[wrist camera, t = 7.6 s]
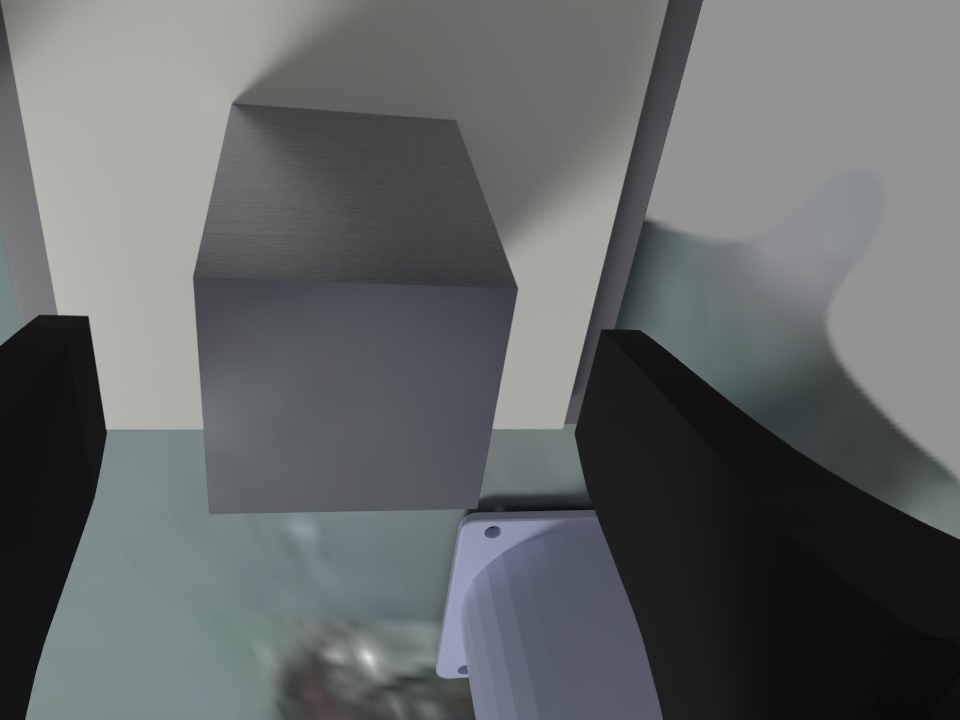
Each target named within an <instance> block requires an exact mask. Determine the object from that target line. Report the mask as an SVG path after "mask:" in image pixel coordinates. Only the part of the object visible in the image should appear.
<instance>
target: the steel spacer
mask: <svg viewBox="0 0 960 720" xmlns="http://www.w3.org/2000/svg"><path fill="white" fill-rule="evenodd" d="M193 286H194V300H195V315H196V329H197V344H198V358H199V373H200V387H201V402H202V416H203V431H204V445H205V459H206V474H207V488H208V503H209V514H235V513H287V512H339V511H391V510H443V509H477V507H478V502H479V497H480V491H481V486H482V481H483V475H484V470H485V465H486V459H487V454H488V448H489V443H490V438H491V432H492V427H493V422H494V416H495V411H496V406H497V400H498V395H499V390H500V384H501V379H502V374H503V368H504V363H505V358H506V352H507V347H508V341H509V336H510V331H511V325H512V320H513V315H514V309H515V304H516V299H517V293H518V287H517V284H516V281H515V278H514V276H513V273H512V270H511V268H510V265H509V262H508V259H507V257H506V254H505V251H504V249H503V246H502V243H501V241H500V238H499V235H498V232H497V230H496V227H495V224H494V222H493V219H492V216H491V214H490V211H489V208H488V205H487V203H486V200H485V197H484V195H483V192H482V189H481V186H480V184H479V181H478V178H477V176H476V173H475V170H474V168H473V165H472V162H471V159H470V157H469V154H468V151H467V149H466V146H465V143H464V141H463V138H462V135H461V132H460V130H459V127H458V124H457V122H456V120H445V119H432V118H419V117H406V116H393V115H380V114H367V113H354V112H341V111H328V110H315V109H302V108H289V107H276V106H263V105H250V104H237V103H232V104H231V108H230V113H229V117H228V122H227V126H226V131H225V135H224V140H223V144H222V149H221V153H220V158H219V162H218V167H217V171H216V176H215V180H214V185H213V189H212V194H211V198H210V203H209V207H208V212H207V216H206V221H205V225H204V230H203V234H202V239H201V243H200V248H199V252H198V257H197V261H196V266H195V270H194V275H193Z"/></svg>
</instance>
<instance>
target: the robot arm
mask: <svg viewBox="0 0 960 720" xmlns="http://www.w3.org/2000/svg"><path fill="white" fill-rule="evenodd" d="M106 435H107V431H106V425H105V418H104V412H103V405H102V399H101V393H100V386H99V380H98V373H97V367H96V361H95V354H94V348H93V341H92V335H91V329H90V322H89V316H75V315H38V316H37V317H35V318H34V319H33V320H31V321H30V322H29V323H28V324H26V325H25V326H24V327H23V328H21V329H20V330H19V331H18V332H17V333H15V334H14V335H13V336H12V337H11V338H9V339H8V340H7V341H6V342H5V343H3V344H2V345H1V346H0V720H25V718H26V713H27V709H28V705H29V700H30V696H31V691H32V687H33V683H34V678H35V674H36V670H37V667H38V663H39V660H40V656H41V653H42V650H43V646H44V643H45V640H46V637H47V634H48V631H49V628H50V625H51V622H52V619H53V617H54V614H55V611H56V608H57V605H58V602H59V599H60V597H61V594H62V591H63V588H64V585H65V582H66V579H67V577H68V574H69V571H70V568H71V565H72V562H73V559H74V556H75V554H76V551H77V548H78V545H79V542H80V539H81V536H82V533H83V530H84V527H85V524H86V522H87V519H88V516H89V513H90V510H91V507H92V504H93V501H94V498H95V493H96V488H97V483H98V478H99V473H100V469H101V463H102V458H103V452H104V447H105V441H106ZM575 438H576V442H577V447H578V452H579V457H580V462H581V466H582V470H583V475H584V479H585V483H586V487H587V491H588V494H589V496H590V499H591V502H592V505H593V507H594V510H570V511H524V512H477V513H471V514H469V515H467V516H465V517H464V518H463V519H462V520H461V521H460V523H459V528H458V534H457V540H456V545H455V551H454V557H453V563H452V569H451V575H450V581H449V587H448V593H447V598H446V604H445V610H444V616H443V622H442V628H441V634H440V640H439V646H438V652H437V657H436V670H437V674H438V675H439V676H440V677H443V678H465V677H469V682H470V688H471V694H472V700H473V706H474V712H475V718H476V720H960V539H957V538H955V537H953V536H951V535H949V534H947V533H944V532H942V531H940V530H938V529H936V528H934V527H932V526H929V525H927V524H925V523H923V522H921V521H919V520H917V519H915V518H913V517H911V516H909V515H907V514H905V513H904V512H902V511H900V510H898V509H896V508H894V507H892V506H890V505H888V504H886V503H884V502H882V501H880V500H878V499H876V498H875V497H873V496H871V495H869V494H867V493H866V492H864V491H862V490H860V489H858V488H857V487H855V486H853V485H851V484H850V483H848V482H847V481H845V480H843V479H842V478H840V477H838V476H837V475H835V474H833V473H832V472H830V471H828V470H827V469H825V468H823V467H822V466H820V465H818V464H817V463H815V462H814V461H812V460H811V459H809V458H807V457H806V456H804V455H803V454H801V453H800V452H798V451H797V450H795V449H794V448H792V447H791V446H790V445H788V444H787V443H785V442H784V441H783V440H781V439H780V438H778V437H777V436H775V435H774V434H773V433H771V432H770V431H768V430H767V429H766V428H764V427H763V426H761V425H760V424H759V423H757V422H756V421H755V420H753V419H752V418H751V417H749V416H748V415H747V414H745V413H744V412H743V411H741V410H740V409H739V408H738V407H736V406H735V405H734V404H732V403H731V402H730V401H729V400H727V399H726V398H725V397H724V396H722V395H721V394H720V393H719V392H717V391H716V390H715V389H714V388H712V387H711V386H710V385H709V384H707V383H706V382H705V381H704V380H702V379H701V378H700V377H699V376H698V375H696V374H695V373H694V372H693V371H691V370H690V369H689V368H688V367H687V366H685V365H684V364H683V363H682V362H680V361H679V360H678V359H677V358H676V357H674V356H673V355H672V354H671V353H669V352H668V351H667V350H666V349H664V348H663V347H662V346H661V345H659V344H658V343H657V342H655V341H654V340H653V339H651V338H650V337H649V336H647V335H646V334H644V333H643V332H642V331H640V330H615V329H601V332H600V336H599V340H598V344H597V348H596V352H595V356H594V360H593V364H592V367H591V371H590V375H589V379H588V383H587V387H586V391H585V395H584V399H583V403H582V406H581V410H580V414H579V418H578V422H577V426H576V430H575ZM492 526H496V527H494V528H490V529H489V527H492Z"/></svg>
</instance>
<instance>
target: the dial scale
mask: <svg viewBox="0 0 960 720" xmlns="http://www.w3.org/2000/svg"><path fill="white" fill-rule="evenodd" d="M702 2H703V0H0V228H1V233H2V238H3V242H4V247H5V252H6V256H7V261H8V266H9V270H10V275H11V280H12V285H13V289H14V294H15V299H16V303H17V308H18V313H19V317H20V322H21V327H22V328H23V327H24V326H25V325H26V324H28V323H29V322H30V321H31V320H33V319H34V318H35V317H37V316H38V315H75V316H89V322H90V329H91V335H92V341H93V348H94V354H95V361H96V367H97V373H98V380H99V386H100V393H101V399H102V405H103V412H104V418H105V425H106V429H203V416H202V402H201V387H200V373H199V358H198V344H197V329H196V315H195V300H194V286H193V275H194V270H195V266H196V261H197V257H198V252H199V248H200V243H201V239H202V234H203V230H204V225H205V221H206V216H207V212H208V207H209V203H210V198H211V194H212V189H213V185H214V180H215V176H216V171H217V167H218V162H219V158H220V153H221V149H222V144H223V140H224V135H225V131H226V126H227V122H228V117H229V113H230V108H231V104H232V103H237V104H250V105H263V106H276V107H289V108H302V109H315V110H328V111H341V112H354V113H367V114H380V115H393V116H406V117H419V118H432V119H445V120H456V122H457V124H458V127H459V130H460V132H461V135H462V138H463V141H464V143H465V146H466V149H467V151H468V154H469V157H470V159H471V162H472V165H473V168H474V170H475V173H476V176H477V178H478V181H479V184H480V186H481V189H482V192H483V195H484V197H485V200H486V203H487V205H488V208H489V211H490V214H491V216H492V219H493V222H494V224H495V227H496V230H497V232H498V235H499V238H500V241H501V243H502V246H503V249H504V251H505V254H506V257H507V259H508V262H509V265H510V268H511V270H512V273H513V276H514V278H515V281H516V284H517V287H518V293H517V299H516V304H515V309H514V315H513V320H512V325H511V331H510V336H509V341H508V347H507V352H506V358H505V363H504V368H503V374H502V379H501V384H500V390H499V395H498V400H497V406H496V411H495V416H494V422H493V427H492V429H563V426H564V424H577V422H578V418H579V414H580V410H581V406H582V403H583V399H584V395H585V391H586V387H587V383H588V379H589V375H590V371H591V367H592V364H593V360H594V356H595V352H596V348H597V344H598V340H599V336H600V332H601V329H615V325H616V321H617V318H618V314H619V310H620V307H621V303H622V299H623V295H624V292H625V288H626V284H627V281H628V277H629V273H630V269H631V266H632V262H633V258H634V255H635V251H636V247H637V243H638V240H639V236H640V232H641V229H642V225H643V221H644V217H645V214H646V210H647V206H648V203H649V199H650V195H651V191H652V187H653V184H654V180H655V177H656V172H657V169H658V165H659V161H660V158H661V154H662V151H663V147H664V143H665V139H666V136H667V132H668V128H669V125H670V121H671V117H672V113H673V110H674V106H675V102H676V98H677V94H678V91H679V87H680V83H681V79H682V76H683V73H684V69H685V65H686V61H687V58H688V54H689V50H690V47H691V43H692V39H693V35H694V32H695V28H696V24H697V20H698V17H699V13H700V9H701V6H702Z"/></svg>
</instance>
